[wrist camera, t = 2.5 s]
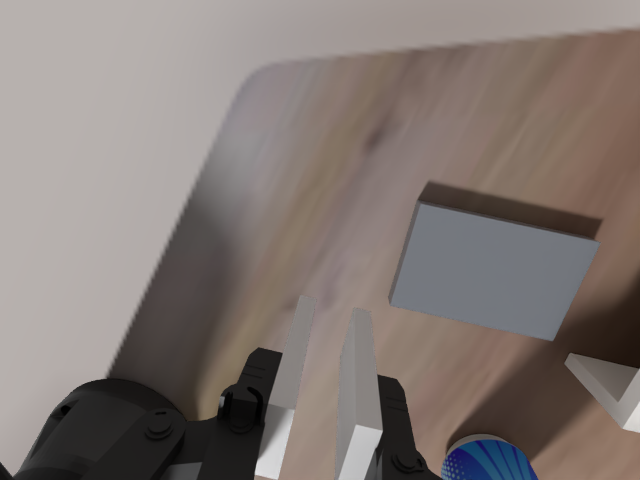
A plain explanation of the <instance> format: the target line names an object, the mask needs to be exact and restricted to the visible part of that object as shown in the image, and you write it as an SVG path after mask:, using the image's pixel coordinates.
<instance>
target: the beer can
mask: <svg viewBox="0 0 640 480" xmlns="http://www.w3.org/2000/svg"><path fill="white" fill-rule="evenodd" d="M441 476H442V479H444V480H471V479H472V480H538V478H537V476H536V474H535V472H534V470H533V469H532V467H531V465H530V463H529V461H528V459H527V457H526V456H525V455H524V453H523V452H522V451H521V450H520V449H518V448H517V447H516V446H514V445H512V444H510V443H508V442H507V441H505V440H504V439H502V438H500V437H497V436H494V435H489V434H475V435H470V436H467V437H464V438H462V439H460V440H458V441H457V442H456V443H454V444H453V445H452V446H451V448H450V449H449V451H448V452H447V455H446V458H445V460H444V462H443V464H442V468H441Z"/></svg>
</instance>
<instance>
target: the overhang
mask: <svg viewBox="0 0 640 480" xmlns="http://www.w3.org/2000/svg"><path fill="white" fill-rule="evenodd" d="M564 364H565V365H566V366H567V367H568V369H569V370H570V371H571V372H572V373H573V374H574V375H575V376H576V377H577V379H578V380H579V381H580V382H581V383H582V384H583V385H584V386H585V388H586V389H587V390H588V391H589V392H590V393H591V394H592V395H593V396H594V398H595V399H596V400H597V401H598V402H599V403H600V404H601V405H602V407H603V408H604V409H605V410H606V411H607V412H608V413H609V414H610V416H611V417H612V418H613V419H614V420H615V421H616V422H617V423H618V424H619V426H620V427H621V428H622V429H626V430H630V431H634V432H639V433H640V369H638V368H633V367H629V366H625V365H620V364H616V363H612V362H608V361H603V360H599V359H595V358H591V357H586V356H582V355H578V354H573V353H569V355H568V357H567V359H566V361H565V363H564Z"/></svg>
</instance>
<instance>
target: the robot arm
mask: <svg viewBox="0 0 640 480" xmlns="http://www.w3.org/2000/svg"><path fill="white" fill-rule="evenodd" d="M316 300H317V299H316V298H311V297H307V296H303V295H300V298H299V301H298V305H297V308H296V311H295V315H294V318H293V322H292V325H291V328H290V332H289V335H288V338H287V342H286V345H285V348H284V352H283V353H280V352H276V351H272V350H267V349H263V348H257V349H256V350H255V351H253V352H252V353H251V354H250V355H249V357H248V359H247V362H246V364H245V366H244V368H243V371H242V373H241V375H240V377H239V380H238V382H237V384H234V385H231V386H229V387H228V388H226V389H225V390H224V391H223V393H222V394H221V396H220V401H219V408H218V414H217V416H215V417H213V418H210V419H208V420H202V421H188V422H186V421H185V419H184V417H183V416H182V414H181V413H179V411H178V410H177V409H176V408H175V407H174V406H173V405H172V404H171V403H170V402H169V401H167V400H166V399H165V398H163V397H162V396H161V395H159V394H158V393H156V392H154V391H152V390H150V389H148V388H146V387H144V386H142V385H139V384H136V383H133V382H129V381H124V380H118V379H101V380H95V381H91V382H88V383H85V384H83V385H81V386H79V387H77V388H76V389H75V390H73V392H71V393H70V394H69V395H68V396H67V397H66V398H65V399H64V400H63V401H62V402H61V403H60V404H58V405H57V407H56V408H55V409H54V410H53V412H52V413H51V414H50V416H49V418H48V419H47V421H46V423H45V425H44V426H43V428H42V430H41V432H40V434H39V436H38V437H37V439H36V441H35V443H34V444H33V446H32V448H31V450H30V451H29V453H28V455H27V457H26V459H25V460H24V462H23V464H22V466H21V468H20V469H19V471H18V472H17V473H16V474H15V475H14V476H13V477H12V476H11V474H10V473H9V472H8V471H7V469H6V468H5V467H4V466H3V465H2V463H1V462H0V480H254V476H255V475H259V476H264V477H268V478H272V479H276V480H278V477H279V473H280V469H281V465H282V461H283V456H284V452H285V448H286V444H287V440H288V436H289V432H290V428H291V424H292V419H293V415H294V411H295V407H296V401H297V396H298V391H299V386H300V381H301V376H302V371H303V366H304V361H305V356H306V351H307V346H308V341H309V335H310V330H311V325H312V320H313V315H314V310H315V305H316ZM335 480H444V479H442V478H440V477H439V476H437V475H436V474H434V473H433V472H431V471H430V470H429V469H428V467H427V464H426V461H425V459H424V458H423V457H422V455H421V454H420V453H419V452H418V451H417V450H416V447H415V442H414V437H413V432H412V427H411V422H410V417H409V413H408V407H407V404H406V397H405V392H404V389H403V388H402V386H401V385H400V383H399V382H398V380H397V379H394V378H390V377H386V376H382V375H377V369H376V360H375V350H374V341H373V331H372V322H371V312H370V311H367V310H363V309H358V308H354V309H353V313H352V317H351V320H350V324H349V327H348V331H347V334H346V338H345V342H344V345H343V349H342V352H341V356H340V373H339V394H338V416H337V437H336V459H335ZM471 480H472V479H471Z"/></svg>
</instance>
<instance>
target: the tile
mask: <svg viewBox="0 0 640 480" xmlns="http://www.w3.org/2000/svg"><path fill="white" fill-rule="evenodd" d="M600 243H601V242H599V241H597V240H594V239H592V238H590V237H587V236H582V235H578V234H573V233H569V232H564V231H559V230H555V229H550V228H545V227H541V226H536V225H532V224H527V223H522V222H518V221H513V220H508V219H504V218H499V217H495V216H490V215H485V214H481V213H476V212H471V211H467V210H462V209H458V208H453V207H448V206H444V205H439V204H434V203H430V202H425V201H421V200H417V202H416V205H415V209H414V212H413V215H412V219H411V222H410V226H409V229H408V232H407V236H406V239H405V242H404V246H403V249H402V253H401V256H400V259H399V263H398V266H397V269H396V273H395V276H394V279H393V283H392V286H391V290H390V293H389V296H388V299H389V303H390V306H394V307H399V308H403V309H408V310H412V311H417V312H421V313H426V314H430V315H435V316H440V317H444V318H449V319H453V320H458V321H462V322H467V323H472V324H476V325H481V326H485V327H490V328H494V329H499V330H503V331H508V332H513V333H517V334H522V335H526V336H531V337H535V338H540V339H545V340H549V341H553V340H554V338H555V336H556V334H557V332H558V330H559V327H560V325H561V323H562V321H563V319H564V317H565V315H566V313H567V311H568V309H569V307H570V305H571V303H572V301H573V299H574V297H575V295H576V293H577V291H578V289H579V286H580V284H581V282H582V280H583V278H584V276H585V274H586V272H587V270H588V268H589V266H590V264H591V262H592V260H593V258H594V256H595V254H596V252H597V250H598V248H599V245H600Z"/></svg>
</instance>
